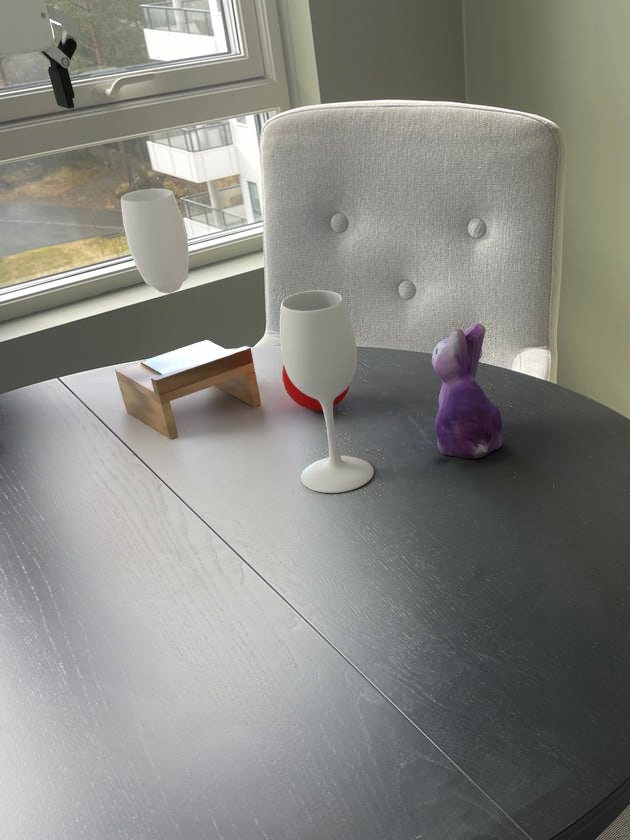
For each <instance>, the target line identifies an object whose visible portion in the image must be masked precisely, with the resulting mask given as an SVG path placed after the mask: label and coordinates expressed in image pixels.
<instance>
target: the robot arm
mask: <svg viewBox="0 0 630 840" xmlns="http://www.w3.org/2000/svg"><path fill="white" fill-rule="evenodd" d="M52 23H54V24H56V25H58V26H60V27H61V29H62V37H61V38H60V40H59V42H58V45H56V44H55V34H54V30H53V27H52ZM79 29H80V21H79V20H78V19H77V18H76V17H74V16H71V15H69V14H67V13H65V12H62V11H60V10H58V9H56V8H54V7H51V6H49V5H47V4H46V3H45V0H0V58H4V57H12V56H18V55H19V56H21V55H27V54H33V53H39V54H40V55H41V56H43V57H44V59H45V60H47V61H48V62H49V65H50V66H48V68H47V72H48V76H49V80H50V83H51V87H52V90H53V94H54V98H55V101H56V104H57V106H59V107H60V108H65V109H69V110H71V109H74V108H75V102H74V99H75V90H74V87H73V84H72V79H71V76H70V72H69V69H68V68H70V67H71V60H72V58H73V56H74V54H75V52H76V51H77V48H78V43H77V40H78V37H79Z"/></svg>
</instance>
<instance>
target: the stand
mask: <svg viewBox="0 0 630 840" xmlns="http://www.w3.org/2000/svg"><path fill="white" fill-rule="evenodd" d="M114 372H115V376H116V380H117V383H118V387H119V391H120V394H121V397H122V400H123V403H124V408H125V411H126V413H128V414H129V415H131V416H133V417H134V418H136V419H137V420H139V421H140V422H142V423H144V424H145V425H147V426H149V428H152V429H153V430H155V431H157V432H158V433H160V434H161V435H163V436H164V437H166V438H167V439H170V440H172V439H174V438H177V437H179V433H178V429H177V424H176V421H175V417H174V413H173V409H172V405H171V402H172V401H174V400H178V399H180V398H183V397H186V396H188V395H191V394H194V393H197V392H199V391H202V390H205V389H208V388H210V387H215V388H217V389H219V390H221V391H223V392H225V393H227V394H229V395H230V396H233V397H234V398H236V399H238V400H240V401H242V402H244V403H246V404H247V405H249V406H251V407H253V408H255V407H258V406H261V405H262V399H261V394H260V389H259V384H258V379H257V374H256V369H255V363H254V358H253V352H252V348H251V347H250V346H248V345H244V346H240V347H237V348H235V349H232V350H229V349H226V348H224V347H221V346H220V345H218V344H215V343H213V342H212V341H210V340H207V339H206V340H203V341H199V342H196V343H193V344H189V345H186V346H184V347H181V348H178V349H174V350H171V351H168V352H166V353H163V354H160V355H156V356H153V357H150V358H147V359H145V360H141V361H138V362H136V363H133V364H129V365H127V366H126V365H125V366H124V367H121V368H117V369H115V370H114Z"/></svg>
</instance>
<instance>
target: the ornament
mask: <svg viewBox="0 0 630 840" xmlns="http://www.w3.org/2000/svg"><path fill="white" fill-rule="evenodd" d="M281 376H282V377H281V379H282V383H283V386H284V389H285V391H286V393H287V395H288V396H289V397H290V398H291V399H292V401H293V402H294V403H296V404H297V405H298V406H300V407H302V408H304V409H307V410H310V411H315V412H317V411H320V412H321V411H322V412H323V408H322V406H321V403H320V402H319V401H318V400H317V399H314V398H312V397H309V396H308V395H306V394H304V393H303V392H301V391H300V390H299V389H298V388H297V387H296V386H295V385H294V384H293V383H292V382H291V380H290V378H289V377H288V375H287V372H286V369H285V366H284V363H283V364H282V372H281ZM350 387H351V384H350V385H349V386H348V387H347V389H346V390H345V391H344V392H342V393H341V394H340V395H338V396H337V397H336V398H335V399H334V402H333V408H335V407H336V406H337V405H338V404H339V403H341V402H342V401H343V400H344V398H345V397H346V395H347V394H348V392H349V389H350Z"/></svg>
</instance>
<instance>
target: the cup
mask: <svg viewBox="0 0 630 840" xmlns="http://www.w3.org/2000/svg"><path fill="white" fill-rule="evenodd" d="M174 193H175V192H173V191H172V190H171V189H166V188H145V189H138V190H134V191H130V192H127V193H124V194H123V195H121V197H120V204H121V206H120V207H121V216H122V225H123V230H124V232H125V233H124V234H125V238H126V243H127V248H128V250H129V253H130V255H131V258H132V260H133V262H134V264H135V267H136V269H137V270H138V273H139V274H140V276H141V277H142V279H143V281H144V283H145V284H147V286H152V287H153V288H154V289H155V290H156V291H158V292H159V293H163V294H169V295H170V294H173V293H175V292H177V291H178V290H180V289H181V287H182V285H183V283H184V282H185V281H187V280H188V278H189V266H190V253H189V252H190V251H189V239H188V235H187V230H186V226H185V223H184V218H183V215H182V212H181V209H180V207H179V204H178V201H177V199H176V196H175V194H174Z"/></svg>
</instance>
